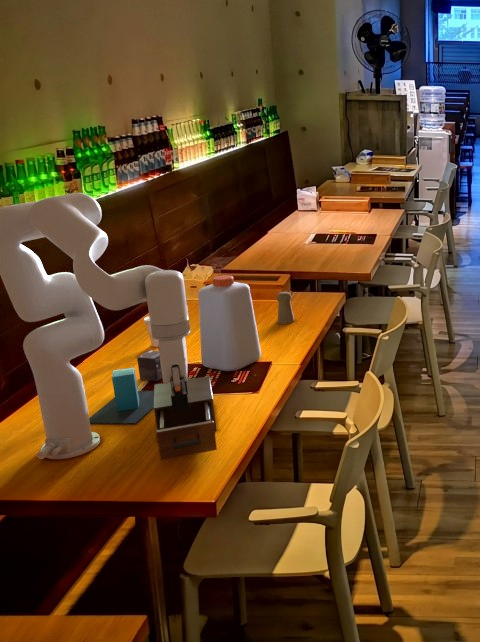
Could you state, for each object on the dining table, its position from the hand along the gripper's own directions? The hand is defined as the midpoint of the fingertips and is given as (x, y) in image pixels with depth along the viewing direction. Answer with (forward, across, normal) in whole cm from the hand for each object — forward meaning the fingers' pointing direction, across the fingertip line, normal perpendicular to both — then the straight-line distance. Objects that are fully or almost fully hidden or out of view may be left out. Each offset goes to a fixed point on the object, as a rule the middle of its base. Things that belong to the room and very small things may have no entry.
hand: (180, 402), depth 160 cm
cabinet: (+18, -28, 0) cm, 33 cm away
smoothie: (+18, -94, -8) cm, 96 cm away
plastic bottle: (+18, -68, +14) cm, 71 cm away
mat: (+18, -45, -14) cm, 50 cm away
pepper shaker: (+18, -102, +36) cm, 109 cm away
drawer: (+17, -13, 0) cm, 22 cm away
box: (+18, -65, -8) cm, 68 cm away
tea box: (+17, -45, -14) cm, 50 cm away
